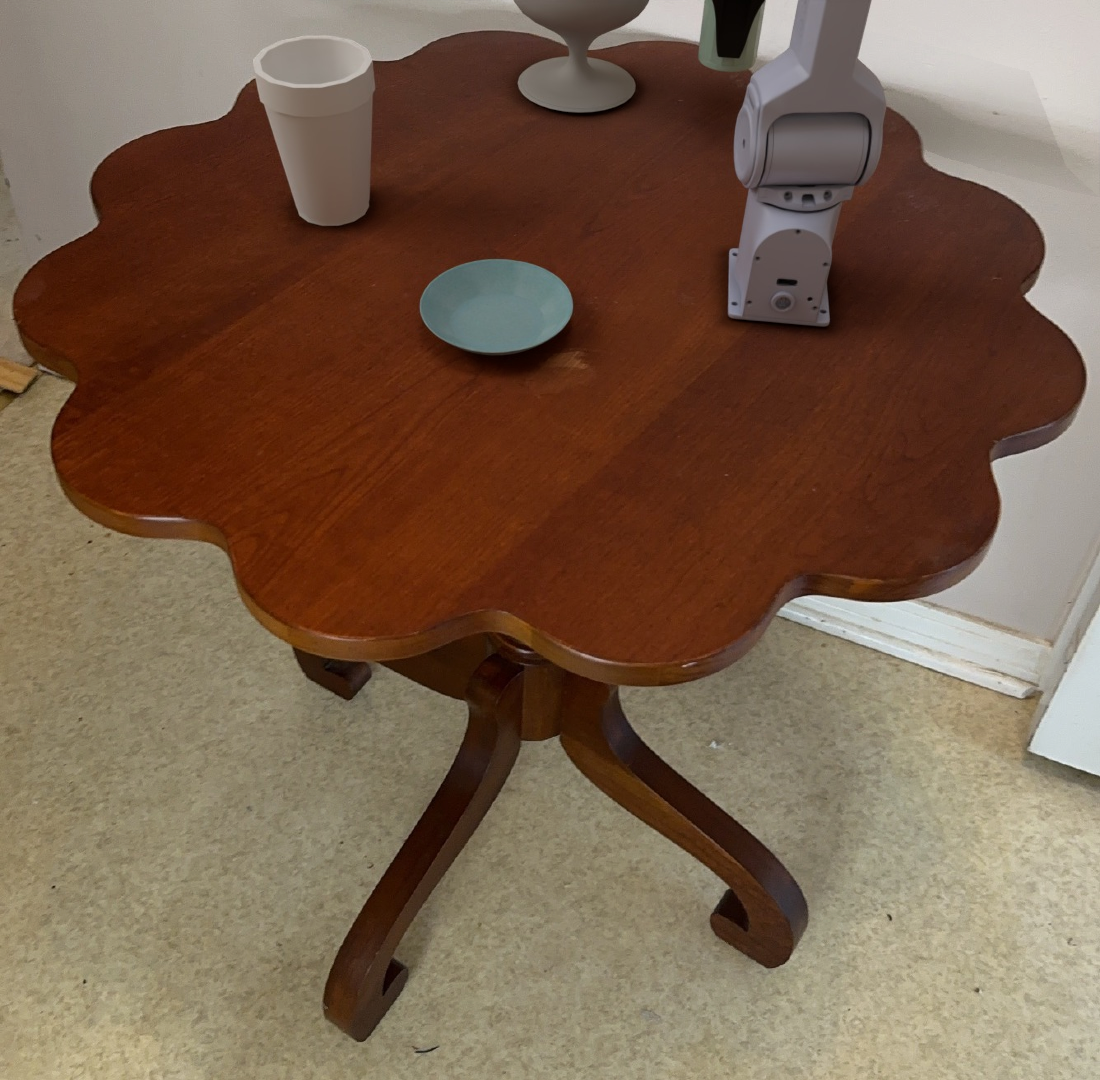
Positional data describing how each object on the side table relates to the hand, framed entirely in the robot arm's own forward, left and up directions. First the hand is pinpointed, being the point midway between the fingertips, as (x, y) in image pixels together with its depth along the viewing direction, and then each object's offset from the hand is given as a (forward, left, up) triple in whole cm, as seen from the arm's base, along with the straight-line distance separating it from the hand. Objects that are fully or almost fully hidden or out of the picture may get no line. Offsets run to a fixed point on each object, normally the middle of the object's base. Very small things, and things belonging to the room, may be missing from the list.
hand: (729, 42), depth 103 cm
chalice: (+5, +15, -8) cm, 17 cm away
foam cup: (-21, +34, -8) cm, 41 cm away
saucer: (-36, +17, -8) cm, 41 cm away
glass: (0, 0, -2) cm, 2 cm away
